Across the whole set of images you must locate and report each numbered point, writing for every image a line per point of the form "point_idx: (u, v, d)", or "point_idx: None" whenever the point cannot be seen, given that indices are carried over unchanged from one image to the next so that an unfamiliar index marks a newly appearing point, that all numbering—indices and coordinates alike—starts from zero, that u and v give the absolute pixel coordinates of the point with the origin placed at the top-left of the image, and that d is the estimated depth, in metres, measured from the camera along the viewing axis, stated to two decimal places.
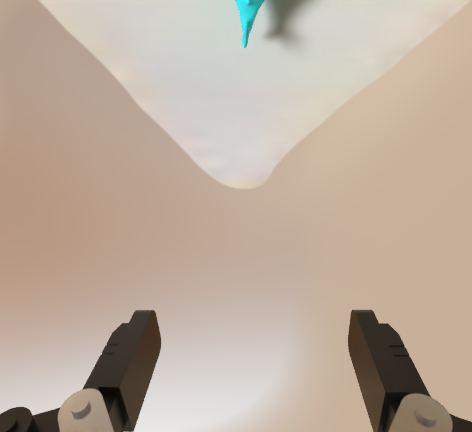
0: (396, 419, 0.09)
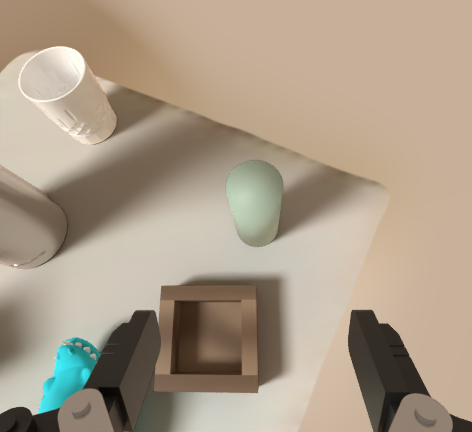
0: (396, 419, 0.09)
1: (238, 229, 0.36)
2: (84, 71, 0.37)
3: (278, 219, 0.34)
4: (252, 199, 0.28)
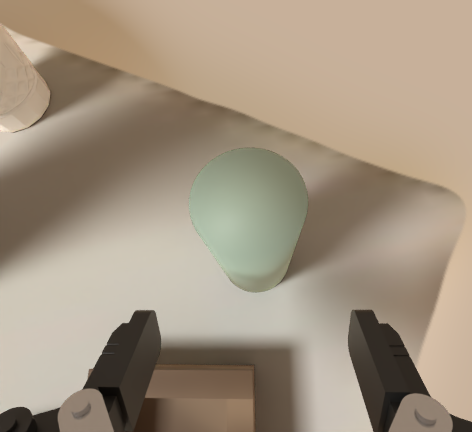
0: (396, 419, 0.09)
1: None
2: None
3: None
4: (243, 228, 0.13)
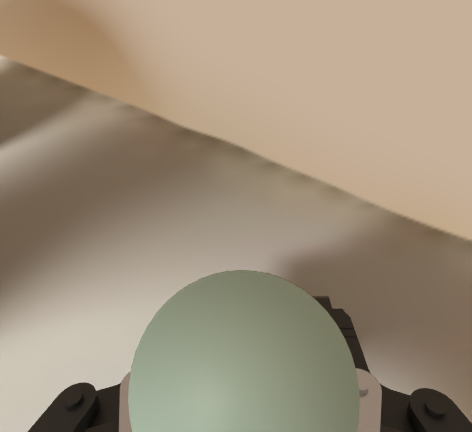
0: None
1: None
2: None
3: None
4: None
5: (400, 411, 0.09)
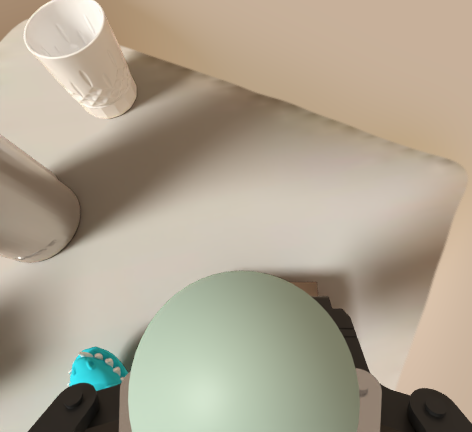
0: None
1: None
2: (103, 23, 0.31)
3: None
4: None
5: (400, 411, 0.09)
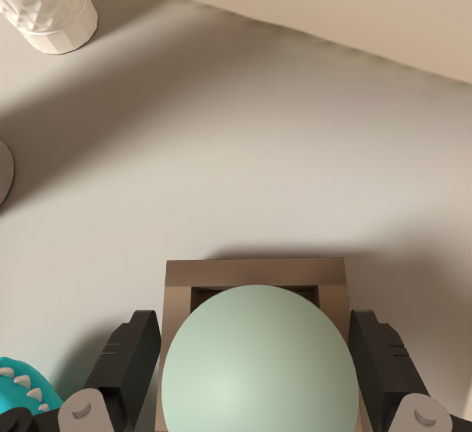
0: (396, 419, 0.09)
1: None
2: None
3: None
4: None
5: None
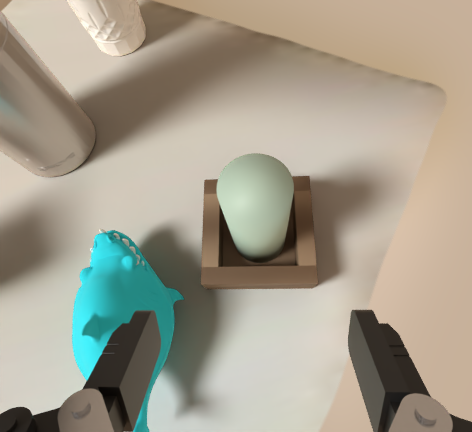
0: (396, 419, 0.09)
1: (235, 242, 0.28)
2: None
3: (286, 230, 0.27)
4: (252, 205, 0.21)
5: None
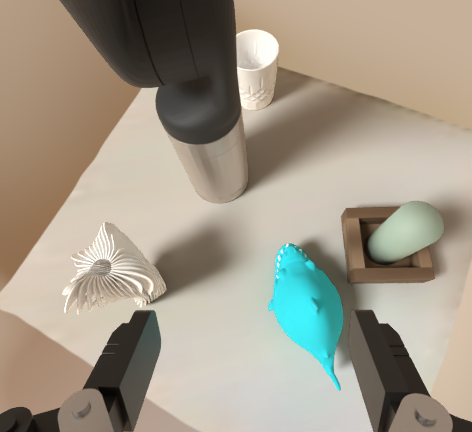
0: (396, 419, 0.09)
1: (378, 252, 0.43)
2: (278, 48, 0.49)
3: None
4: (419, 233, 0.35)
5: None
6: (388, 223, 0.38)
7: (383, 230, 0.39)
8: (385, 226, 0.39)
